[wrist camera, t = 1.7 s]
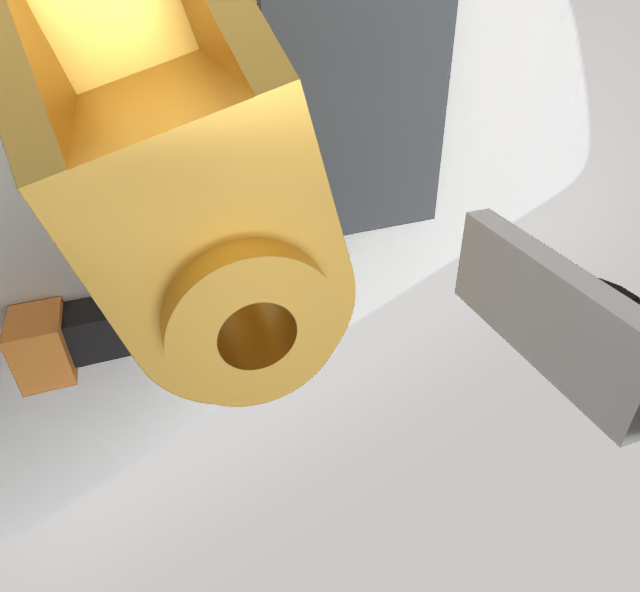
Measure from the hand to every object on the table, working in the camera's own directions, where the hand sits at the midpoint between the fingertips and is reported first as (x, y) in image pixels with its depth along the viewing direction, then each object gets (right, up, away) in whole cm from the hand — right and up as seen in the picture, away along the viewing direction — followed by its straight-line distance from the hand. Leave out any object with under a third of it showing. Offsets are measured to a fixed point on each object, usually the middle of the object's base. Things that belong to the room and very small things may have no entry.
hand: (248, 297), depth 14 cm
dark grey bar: (-9, 0, +21) cm, 23 cm away
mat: (+4, +13, +19) cm, 23 cm away
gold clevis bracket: (-7, +11, +15) cm, 20 cm away
